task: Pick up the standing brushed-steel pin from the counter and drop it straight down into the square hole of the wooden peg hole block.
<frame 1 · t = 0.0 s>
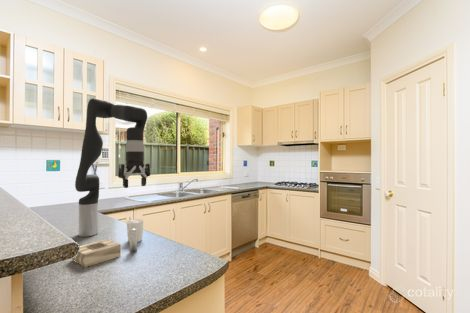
hand: (134, 186, 109), 29 cm above the worktop, tool pointing down, fingers open, 8 cm apart
steel pin: (133, 251, 109), on the worktop
wooden peg hole block: (96, 258, 102), on the worktop
white cup: (135, 241, 124), on the worktop
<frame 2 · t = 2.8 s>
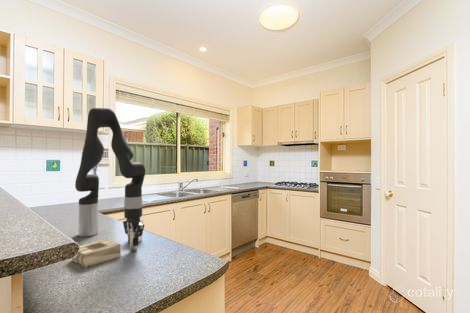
hand: (133, 244, 109), 3 cm above the worktop, tool pointing down, fingers closed on steel pin, 3 cm apart
steel pin: (133, 251, 109), on the worktop, touching gripper
everything else where it was.
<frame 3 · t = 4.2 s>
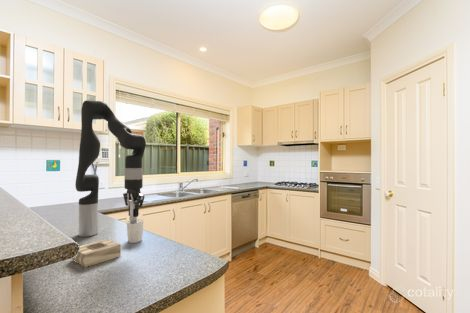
hand: (133, 216, 110), 16 cm above the worktop, tool pointing down, fingers closed on steel pin, 3 cm apart
steel pin: (133, 223, 110), point 13 cm above the worktop, touching gripper
everything else where it was.
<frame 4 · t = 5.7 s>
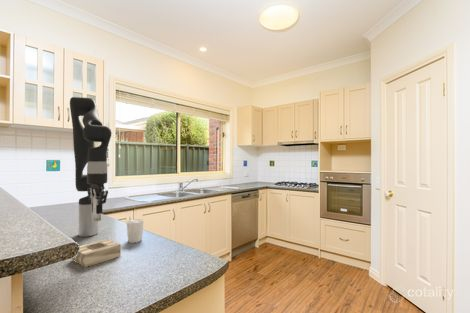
hand: (97, 212, 103), 19 cm above the worktop, tool pointing down, fingers closed on steel pin, 3 cm apart
steel pin: (97, 220, 103), point 16 cm above the worktop, touching gripper
everything else where it was.
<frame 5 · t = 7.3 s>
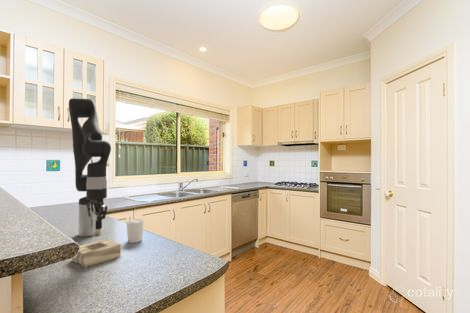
hand: (96, 228, 102), 13 cm above the worktop, tool pointing down, fingers closed on steel pin, 3 cm apart
steel pin: (96, 235, 102), point 9 cm above the worktop, touching gripper
everything else where it was.
when the fingers open (6 cm above the worktop, at t = 8.7 s): steel pin drops 3 cm, resting in wooden peg hole block.
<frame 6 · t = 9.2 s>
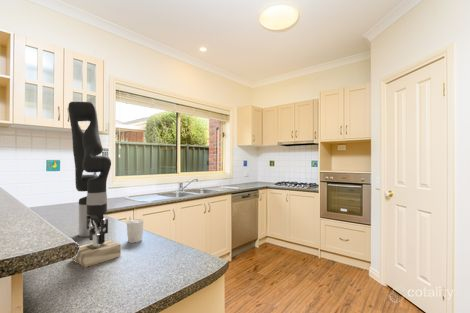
hand: (96, 241, 102), 7 cm above the worktop, tool pointing down, fingers open, 7 cm apart
steel pin: (96, 258, 102), resting in wooden peg hole block
everything else where it was.
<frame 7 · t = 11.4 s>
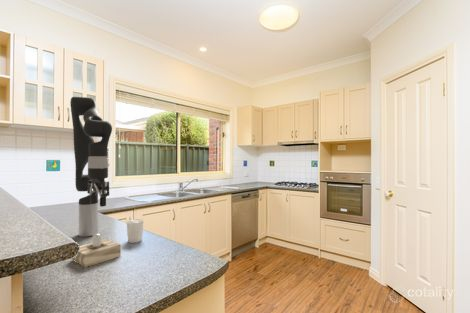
hand: (98, 205, 103), 22 cm above the worktop, tool pointing down, fingers open, 8 cm apart
nothing on the worktop moved.
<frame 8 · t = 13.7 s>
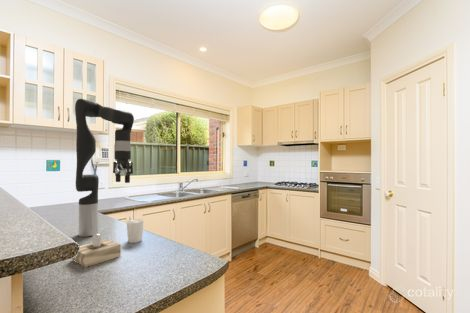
hand: (122, 182, 122), 30 cm above the worktop, tool pointing down, fingers open, 8 cm apart
nothing on the worktop moved.
at the end: steel pin 0.1 cm off-centre on the wooden peg hole block, point 0.0 cm above the wooden peg hole block's base; steel pin tilted 0°; the gripper is holding nothing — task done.
